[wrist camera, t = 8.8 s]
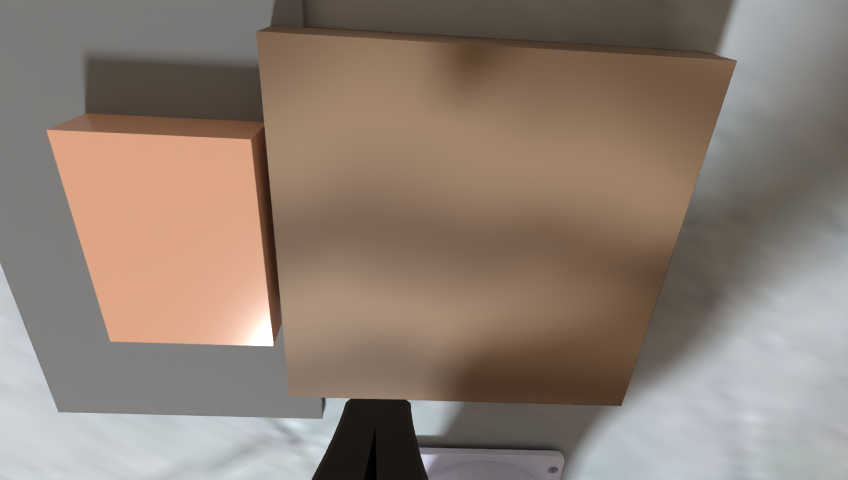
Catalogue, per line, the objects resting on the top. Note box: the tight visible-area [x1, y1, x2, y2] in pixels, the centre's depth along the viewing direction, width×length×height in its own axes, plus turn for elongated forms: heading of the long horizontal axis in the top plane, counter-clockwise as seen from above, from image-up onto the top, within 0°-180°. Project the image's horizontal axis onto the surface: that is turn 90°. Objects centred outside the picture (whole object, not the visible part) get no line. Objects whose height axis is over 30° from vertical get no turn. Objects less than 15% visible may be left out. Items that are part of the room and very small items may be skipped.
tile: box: [47, 113, 282, 346], centre depth 18 cm, size 8×6×2 cm
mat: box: [0, 0, 323, 419], centre depth 19 cm, size 20×12×1 cm, turn 177°
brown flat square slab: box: [256, 26, 737, 406], centre depth 19 cm, size 14×14×2 cm
